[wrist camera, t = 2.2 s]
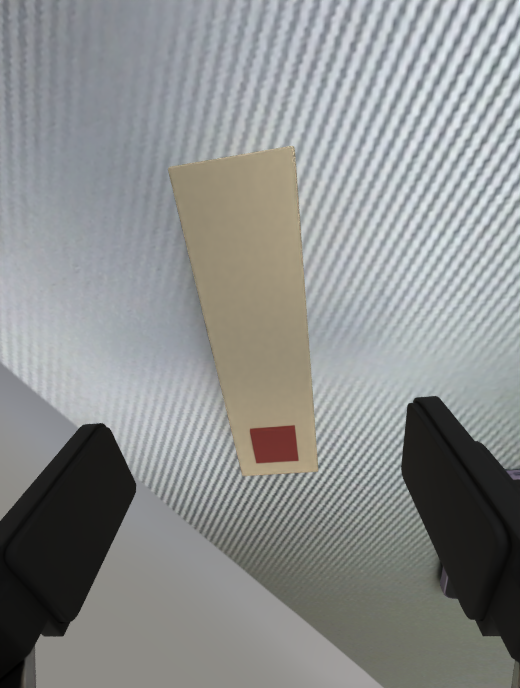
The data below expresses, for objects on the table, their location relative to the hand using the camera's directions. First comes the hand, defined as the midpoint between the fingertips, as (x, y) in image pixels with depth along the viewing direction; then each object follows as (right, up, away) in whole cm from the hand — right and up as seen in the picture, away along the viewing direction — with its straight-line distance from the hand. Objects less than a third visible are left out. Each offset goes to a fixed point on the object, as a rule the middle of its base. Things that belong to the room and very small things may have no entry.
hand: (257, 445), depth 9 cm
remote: (0, +4, +7) cm, 8 cm away
